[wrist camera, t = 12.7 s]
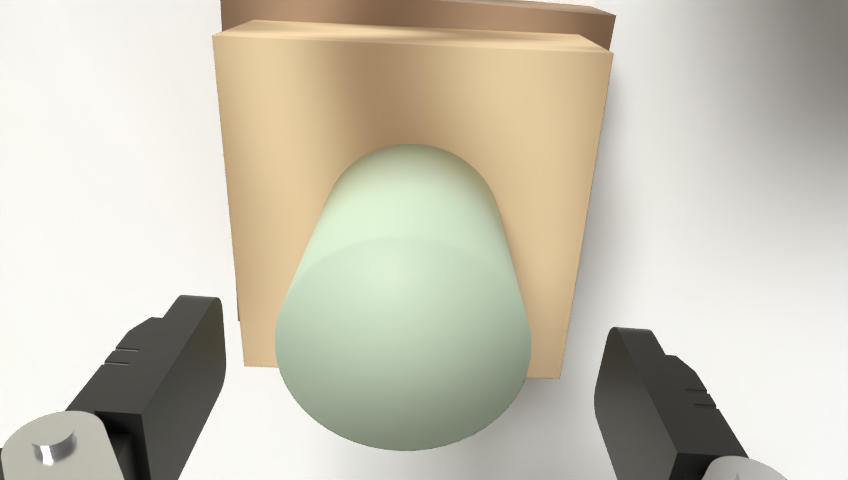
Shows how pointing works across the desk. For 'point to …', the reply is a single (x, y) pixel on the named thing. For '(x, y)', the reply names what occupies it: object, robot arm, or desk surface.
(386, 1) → the walnut base block
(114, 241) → the desk surface
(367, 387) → the green capsule
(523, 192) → the oak top block
